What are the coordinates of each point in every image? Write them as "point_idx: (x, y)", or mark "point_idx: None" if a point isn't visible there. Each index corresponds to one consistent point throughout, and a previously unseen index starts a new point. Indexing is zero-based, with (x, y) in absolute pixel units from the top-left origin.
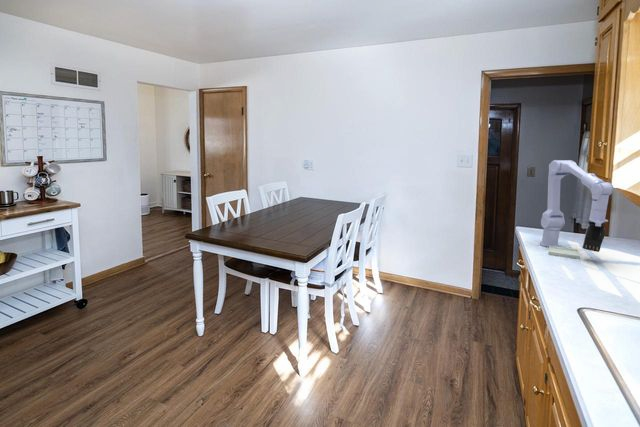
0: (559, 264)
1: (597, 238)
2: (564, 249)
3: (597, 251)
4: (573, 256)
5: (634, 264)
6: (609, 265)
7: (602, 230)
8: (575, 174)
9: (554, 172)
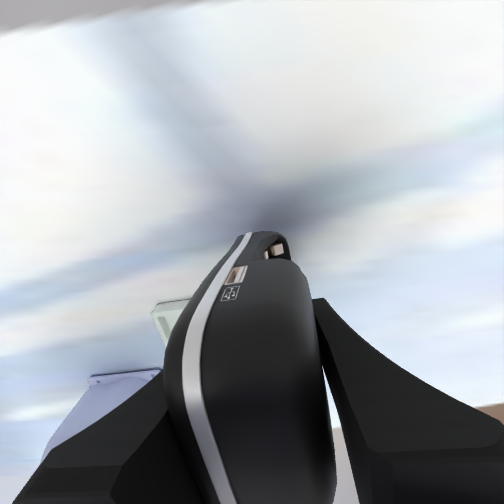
0: (443, 335)
1: (332, 310)
2: None
3: (284, 240)
4: None
5: (150, 10)
6: (302, 148)
7: (319, 360)
8: None
9: None
